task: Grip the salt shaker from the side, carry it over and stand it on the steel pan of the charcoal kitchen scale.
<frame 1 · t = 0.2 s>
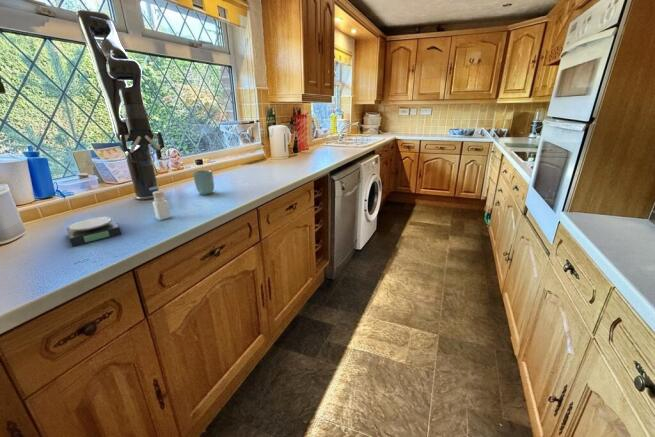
hand: (147, 161, 118), 17 cm above the countertop, tool pointing down, fingers open, 8 cm apart
salt shaker: (164, 218, 106), on the countertop
scale: (94, 234, 94), on the countertop
cup: (206, 193, 136), on the countertop
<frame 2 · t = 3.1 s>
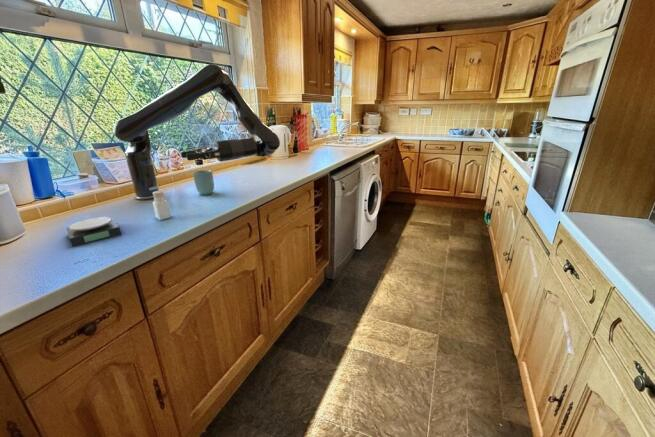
hand: (184, 156, 105), 20 cm above the countertop, tool horizontal, fingers open, 8 cm apart
nothing on the countertop moved.
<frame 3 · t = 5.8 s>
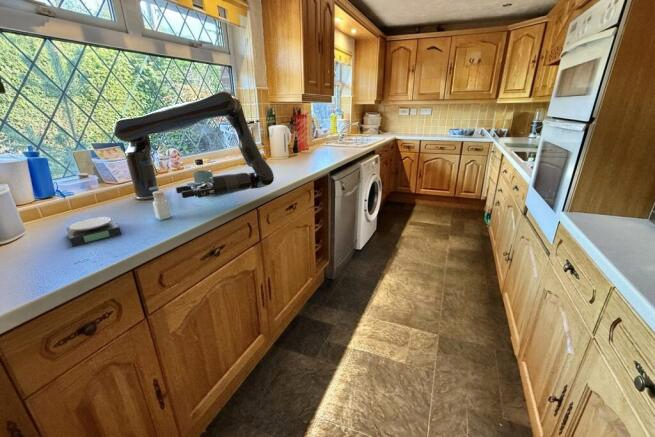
hand: (179, 192, 107), 8 cm above the countertop, tool horizontal, fingers open, 8 cm apart
nothing on the countertop moved.
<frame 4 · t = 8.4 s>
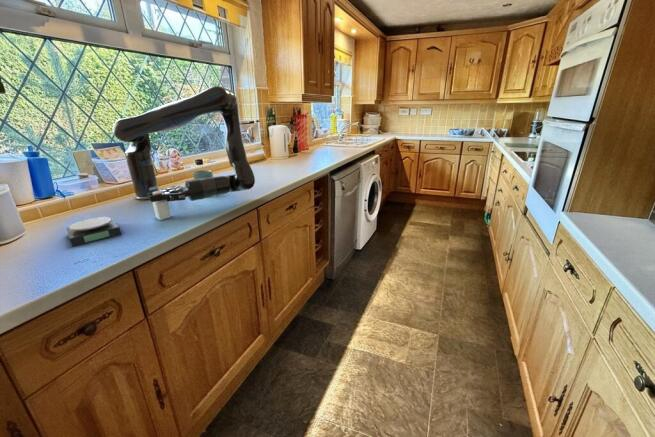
hand: (149, 197, 102), 8 cm above the countertop, tool horizontal, fingers closed on salt shaker, 3 cm apart
salt shaker: (164, 218, 106), on the countertop, touching gripper
everything else where it was.
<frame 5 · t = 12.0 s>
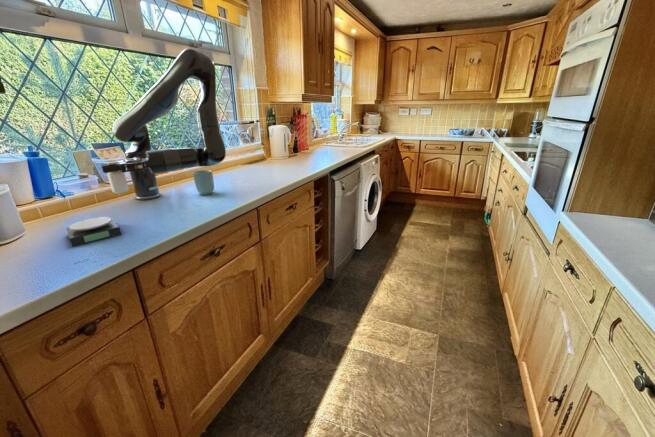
hand: (102, 168, 91), 20 cm above the countertop, tool horizontal, fingers closed on salt shaker, 3 cm apart
salt shaker: (121, 192, 96), point 11 cm above the countertop, touching gripper
everything else where it was.
when the fingers open (12 cm above the countertop, at t = 15.6 s): salt shaker stays where it is, resting on scale.
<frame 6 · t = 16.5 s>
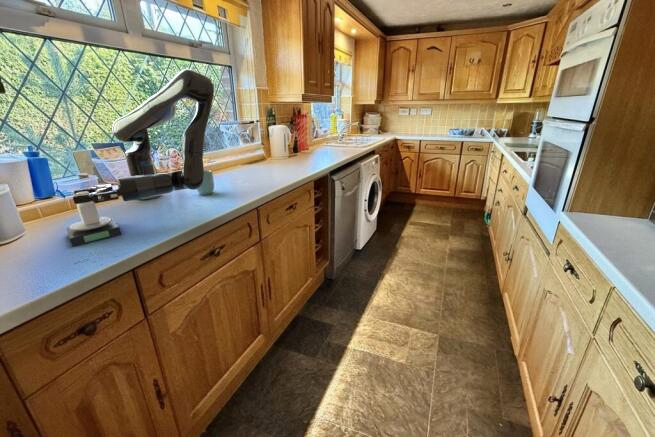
hand: (74, 197, 88), 13 cm above the countertop, tool horizontal, fingers open, 8 cm apart
salt shaker: (91, 223, 92), point 4 cm above the countertop, touching scale
everything else where it was.
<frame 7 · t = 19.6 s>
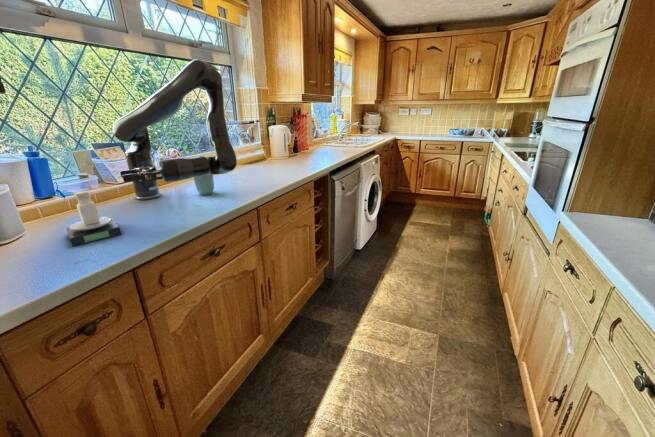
hand: (121, 176, 94), 17 cm above the countertop, tool horizontal, fingers open, 8 cm apart
nothing on the countertop moved.
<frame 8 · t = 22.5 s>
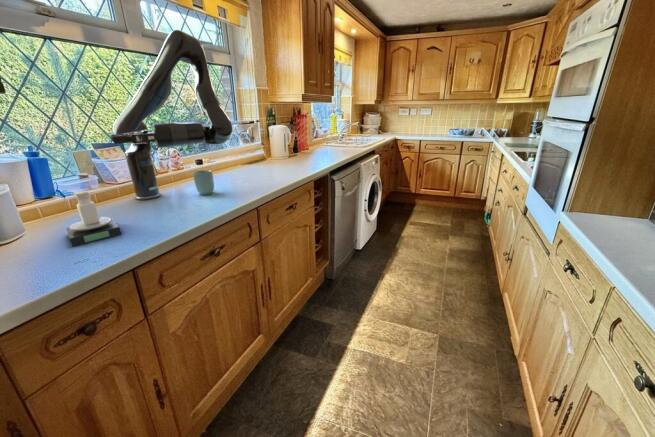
hand: (112, 139, 90), 28 cm above the countertop, tool horizontal, fingers open, 8 cm apart
nothing on the countertop moved.
at the end: salt shaker 0.2 cm off-centre on the scale, point 3.8 cm above the scale's base; salt shaker tilted 0°; the gripper is holding nothing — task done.
